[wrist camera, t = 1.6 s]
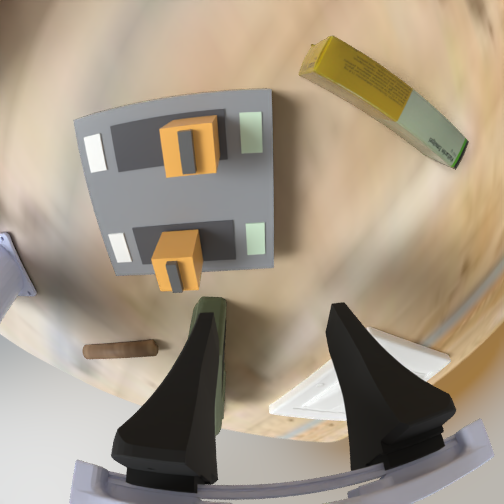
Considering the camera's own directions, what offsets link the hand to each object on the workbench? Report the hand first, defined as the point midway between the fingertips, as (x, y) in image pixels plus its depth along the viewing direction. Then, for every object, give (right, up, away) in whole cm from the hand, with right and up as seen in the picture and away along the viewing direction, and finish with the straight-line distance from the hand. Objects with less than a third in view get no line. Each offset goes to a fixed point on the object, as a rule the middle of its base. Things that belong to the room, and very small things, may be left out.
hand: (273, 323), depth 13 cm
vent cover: (+16, -17, +25) cm, 34 cm away
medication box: (+8, +14, +4) cm, 16 cm away
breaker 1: (-4, +10, +2) cm, 10 cm away
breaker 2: (-6, +4, +6) cm, 9 cm away
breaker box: (-6, +8, +6) cm, 12 cm away
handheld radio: (-6, -11, +20) cm, 23 cm away
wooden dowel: (-16, -9, +16) cm, 25 cm away
